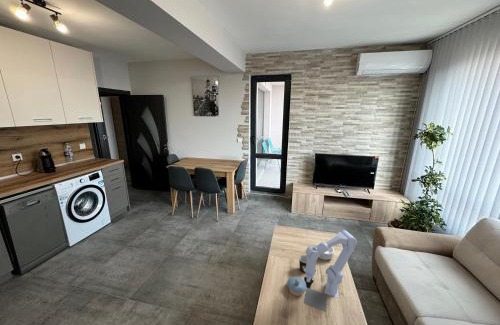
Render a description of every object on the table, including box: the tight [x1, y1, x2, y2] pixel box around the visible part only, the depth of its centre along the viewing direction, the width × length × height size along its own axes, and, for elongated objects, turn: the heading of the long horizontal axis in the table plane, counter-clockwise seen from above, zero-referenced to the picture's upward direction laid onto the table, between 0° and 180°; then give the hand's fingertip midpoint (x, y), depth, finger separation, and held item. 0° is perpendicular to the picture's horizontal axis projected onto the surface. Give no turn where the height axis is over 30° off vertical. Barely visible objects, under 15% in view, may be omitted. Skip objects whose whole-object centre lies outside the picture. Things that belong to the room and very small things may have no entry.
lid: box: [286, 276, 307, 294], centre depth 137 cm, size 13×13×4 cm
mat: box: [303, 288, 328, 312], centre depth 131 cm, size 13×13×1 cm
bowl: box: [288, 288, 305, 297], centre depth 138 cm, size 10×10×4 cm
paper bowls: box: [314, 242, 335, 261], centre depth 171 cm, size 15×15×8 cm
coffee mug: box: [298, 254, 307, 274], centre depth 154 cm, size 12×9×10 cm
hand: (309, 283), depth 132 cm, fingers open, 7 cm apart
